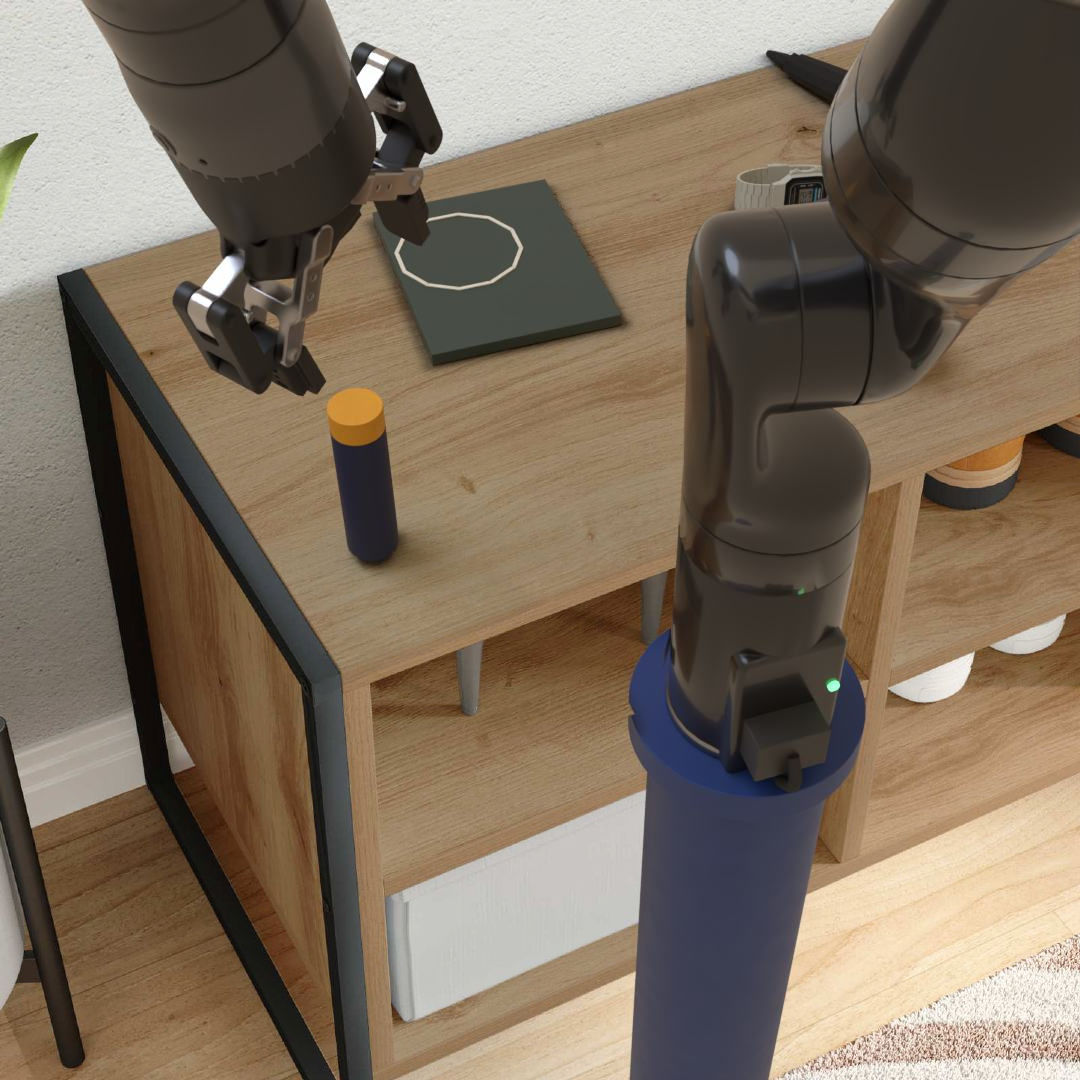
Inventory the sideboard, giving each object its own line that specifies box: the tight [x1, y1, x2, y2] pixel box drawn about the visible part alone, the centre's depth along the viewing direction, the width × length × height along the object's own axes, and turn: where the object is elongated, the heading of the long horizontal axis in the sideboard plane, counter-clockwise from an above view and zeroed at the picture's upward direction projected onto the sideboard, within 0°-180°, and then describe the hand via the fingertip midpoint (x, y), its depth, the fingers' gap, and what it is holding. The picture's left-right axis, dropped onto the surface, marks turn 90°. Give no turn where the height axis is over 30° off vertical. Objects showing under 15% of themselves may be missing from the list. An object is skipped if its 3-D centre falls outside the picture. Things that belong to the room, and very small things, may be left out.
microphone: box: [765, 49, 849, 103], centre depth 131 cm, size 6×6×20 cm
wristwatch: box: [733, 162, 828, 210], centre depth 120 cm, size 9×6×5 cm
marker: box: [326, 387, 400, 565], centre depth 94 cm, size 3×3×12 cm
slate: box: [372, 178, 622, 366], centre depth 117 cm, size 18×14×1 cm
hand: (357, 305), depth 71 cm, fingers open, 8 cm apart
